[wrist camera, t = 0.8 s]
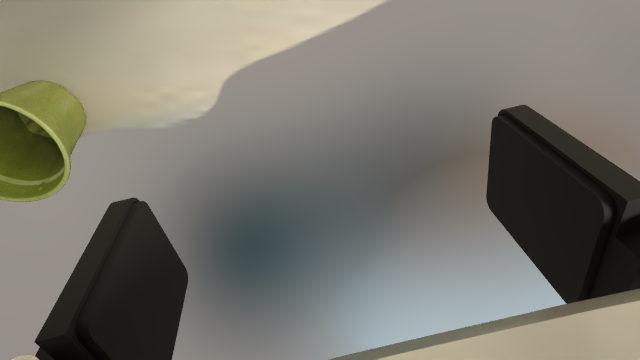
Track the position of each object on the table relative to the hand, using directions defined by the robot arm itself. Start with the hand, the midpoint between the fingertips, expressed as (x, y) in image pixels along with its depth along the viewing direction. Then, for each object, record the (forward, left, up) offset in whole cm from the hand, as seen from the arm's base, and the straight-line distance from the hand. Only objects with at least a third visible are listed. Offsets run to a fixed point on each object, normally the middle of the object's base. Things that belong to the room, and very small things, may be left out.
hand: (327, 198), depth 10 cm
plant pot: (+22, -10, -29) cm, 38 cm away
